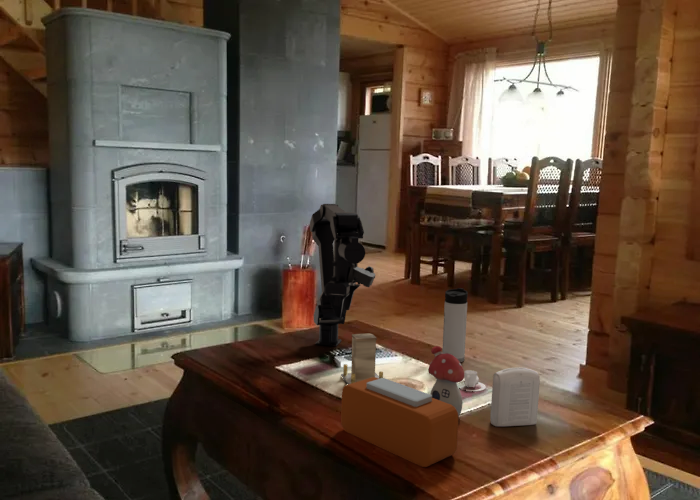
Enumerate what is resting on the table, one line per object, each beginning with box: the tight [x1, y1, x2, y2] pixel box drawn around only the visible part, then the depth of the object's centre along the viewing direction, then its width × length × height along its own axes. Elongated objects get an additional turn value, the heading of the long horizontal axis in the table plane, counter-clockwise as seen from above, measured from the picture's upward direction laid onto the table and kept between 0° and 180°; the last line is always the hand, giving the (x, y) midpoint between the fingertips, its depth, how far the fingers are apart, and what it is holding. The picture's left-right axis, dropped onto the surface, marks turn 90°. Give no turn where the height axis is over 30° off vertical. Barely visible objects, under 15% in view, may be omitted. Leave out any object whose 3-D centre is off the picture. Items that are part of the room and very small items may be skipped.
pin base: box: [340, 363, 384, 385], centre depth 167 cm, size 9×9×3 cm
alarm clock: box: [340, 377, 460, 468], centre depth 132 cm, size 24×8×11 cm, turn 43°
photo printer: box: [489, 366, 541, 427], centre depth 143 cm, size 10×4×12 cm, turn 103°
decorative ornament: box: [428, 345, 465, 418], centre depth 146 cm, size 9×6×15 cm
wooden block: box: [350, 332, 378, 382], centre depth 167 cm, size 4×5×11 cm
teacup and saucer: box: [463, 369, 487, 393], centre depth 166 cm, size 9×8×4 cm
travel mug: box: [441, 287, 468, 363], centre depth 187 cm, size 6×7×20 cm
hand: (343, 313), depth 184 cm, fingers open, 9 cm apart
